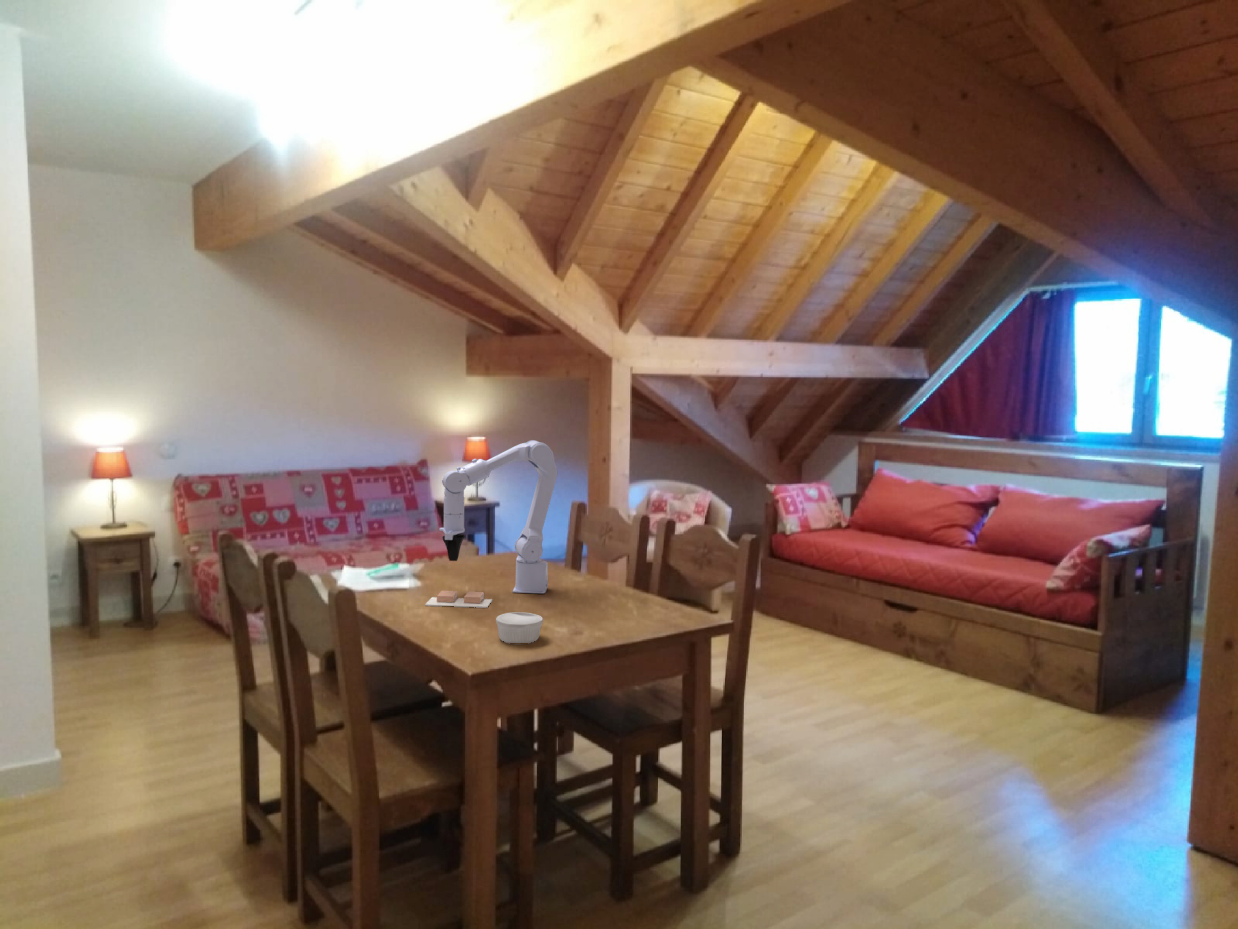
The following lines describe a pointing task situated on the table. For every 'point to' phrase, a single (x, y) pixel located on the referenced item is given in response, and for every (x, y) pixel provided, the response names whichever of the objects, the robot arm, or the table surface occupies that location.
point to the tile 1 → (447, 596)
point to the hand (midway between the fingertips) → (453, 560)
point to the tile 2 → (473, 597)
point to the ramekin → (519, 627)
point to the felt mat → (459, 603)
